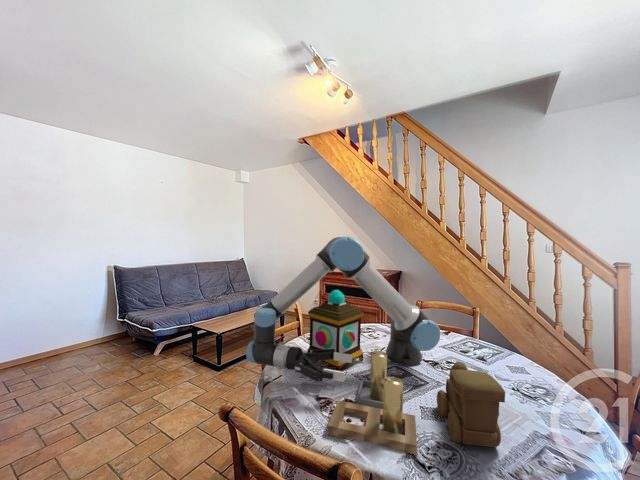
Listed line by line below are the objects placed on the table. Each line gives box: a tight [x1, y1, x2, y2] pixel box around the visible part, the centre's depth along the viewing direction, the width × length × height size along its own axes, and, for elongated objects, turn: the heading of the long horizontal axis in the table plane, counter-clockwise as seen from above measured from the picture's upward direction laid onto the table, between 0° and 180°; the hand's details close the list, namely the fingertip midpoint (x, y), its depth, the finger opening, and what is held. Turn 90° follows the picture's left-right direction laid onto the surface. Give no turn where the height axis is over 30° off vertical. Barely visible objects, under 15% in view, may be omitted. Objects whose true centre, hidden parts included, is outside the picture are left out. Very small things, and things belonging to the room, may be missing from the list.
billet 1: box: [369, 350, 388, 402], centre depth 90 cm, size 5×5×14 cm
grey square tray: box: [355, 379, 383, 409], centre depth 90 cm, size 12×12×2 cm
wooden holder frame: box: [327, 399, 418, 456], centre depth 76 cm, size 22×12×2 cm, turn 74°
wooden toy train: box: [436, 361, 506, 448], centre depth 77 cm, size 20×11×17 cm, turn 173°
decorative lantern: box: [305, 289, 365, 371], centre depth 117 cm, size 20×20×30 cm
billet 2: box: [381, 376, 404, 435], centre depth 74 cm, size 5×5×14 cm
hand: (348, 367), depth 93 cm, fingers open, 13 cm apart
